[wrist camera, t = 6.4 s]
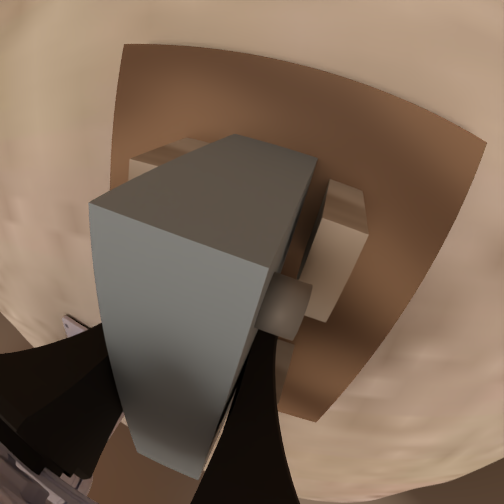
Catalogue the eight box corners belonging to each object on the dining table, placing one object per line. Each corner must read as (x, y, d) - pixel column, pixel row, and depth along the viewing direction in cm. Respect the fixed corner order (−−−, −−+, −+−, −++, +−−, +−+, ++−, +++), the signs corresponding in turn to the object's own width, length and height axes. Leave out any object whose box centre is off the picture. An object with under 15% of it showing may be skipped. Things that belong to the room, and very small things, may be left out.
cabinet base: (319, 404, 18) (305, 468, 14) (132, 330, 20) (93, 379, 16) (471, 136, 9) (539, 168, 5) (145, 46, 11) (59, 42, 6)
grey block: (258, 376, 16) (215, 486, 10) (196, 351, 17) (137, 452, 11) (340, 165, 10) (327, 288, 4) (234, 133, 10) (88, 202, 4)
